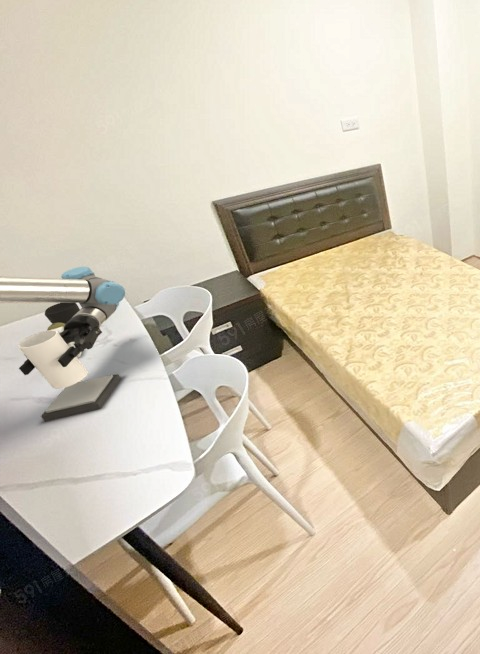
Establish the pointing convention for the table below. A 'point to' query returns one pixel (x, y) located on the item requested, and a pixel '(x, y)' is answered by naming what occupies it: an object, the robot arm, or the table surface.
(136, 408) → the table surface
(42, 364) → the cup
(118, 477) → the table surface
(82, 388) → the scale
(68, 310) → the pen holder
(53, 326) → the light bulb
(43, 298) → the robot arm
